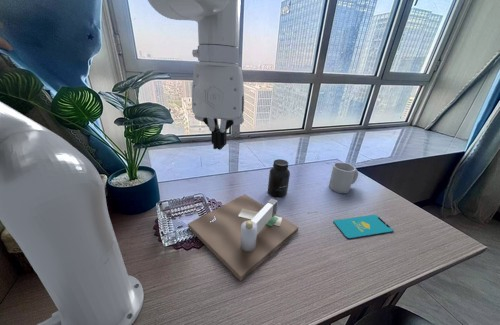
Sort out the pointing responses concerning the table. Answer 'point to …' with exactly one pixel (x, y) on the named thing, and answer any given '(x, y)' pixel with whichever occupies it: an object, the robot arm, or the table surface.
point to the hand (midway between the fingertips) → (219, 147)
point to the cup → (342, 177)
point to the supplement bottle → (279, 179)
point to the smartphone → (362, 226)
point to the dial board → (229, 235)
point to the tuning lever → (256, 225)
